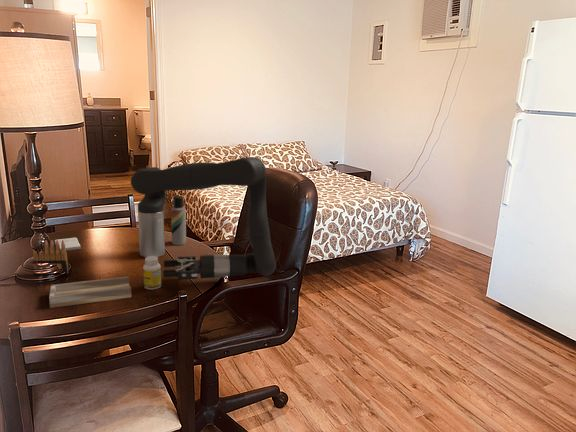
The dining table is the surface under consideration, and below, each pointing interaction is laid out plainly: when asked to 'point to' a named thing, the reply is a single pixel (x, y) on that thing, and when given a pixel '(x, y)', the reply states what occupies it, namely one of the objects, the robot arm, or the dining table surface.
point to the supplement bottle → (152, 273)
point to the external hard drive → (69, 243)
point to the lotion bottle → (178, 221)
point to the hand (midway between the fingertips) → (163, 268)
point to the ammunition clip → (53, 255)
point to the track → (89, 291)
